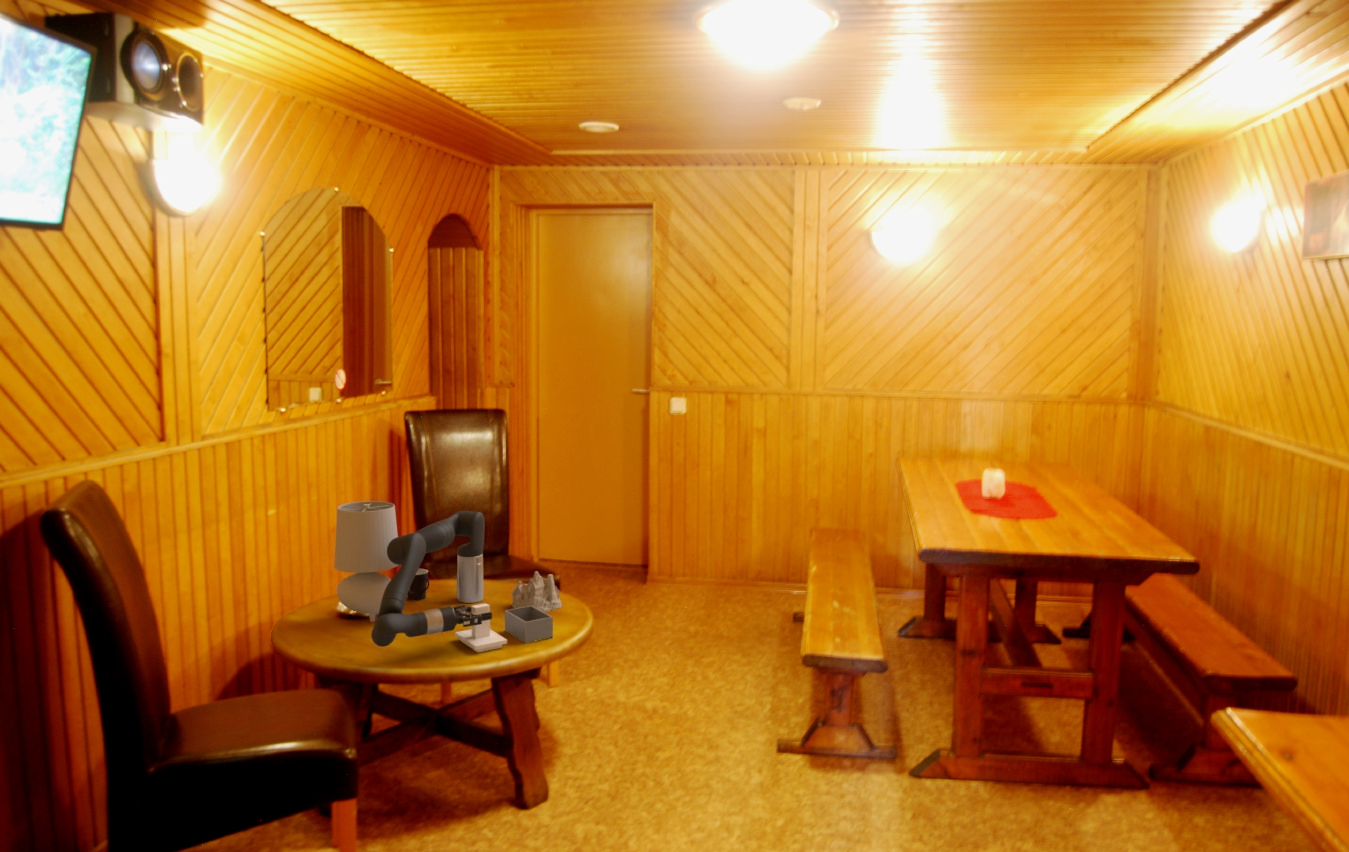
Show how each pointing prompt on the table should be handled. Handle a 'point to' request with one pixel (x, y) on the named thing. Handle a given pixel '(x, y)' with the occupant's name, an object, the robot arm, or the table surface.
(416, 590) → the coffee mug
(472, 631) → the slab with upright post
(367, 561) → the table lamp
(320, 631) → the table surface
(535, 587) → the beige rock formation
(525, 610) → the tub
